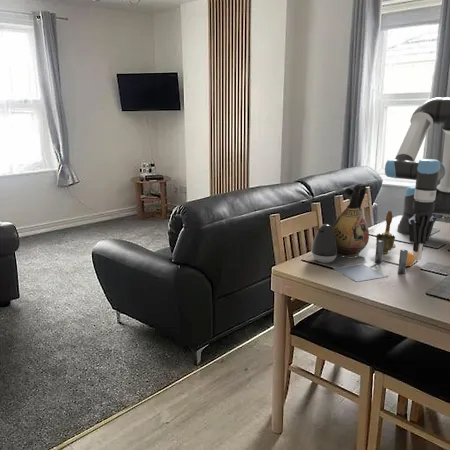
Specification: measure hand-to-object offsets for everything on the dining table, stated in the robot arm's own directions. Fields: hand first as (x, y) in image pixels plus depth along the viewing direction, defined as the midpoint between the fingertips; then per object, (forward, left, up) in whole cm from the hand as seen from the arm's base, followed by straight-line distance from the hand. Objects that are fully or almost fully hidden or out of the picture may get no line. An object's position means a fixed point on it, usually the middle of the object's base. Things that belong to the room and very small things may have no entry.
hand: (416, 258), depth 176 cm
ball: (+5, 0, +1) cm, 5 cm away
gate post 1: (+13, -7, -2) cm, 15 cm away
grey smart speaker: (+32, -16, -2) cm, 36 cm away
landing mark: (+27, 0, -2) cm, 27 cm away
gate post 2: (+13, +6, -2) cm, 15 cm away
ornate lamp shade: (+3, -15, -2) cm, 15 cm away
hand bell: (-6, -24, -2) cm, 25 cm away
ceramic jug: (+17, -20, -2) cm, 26 cm away
